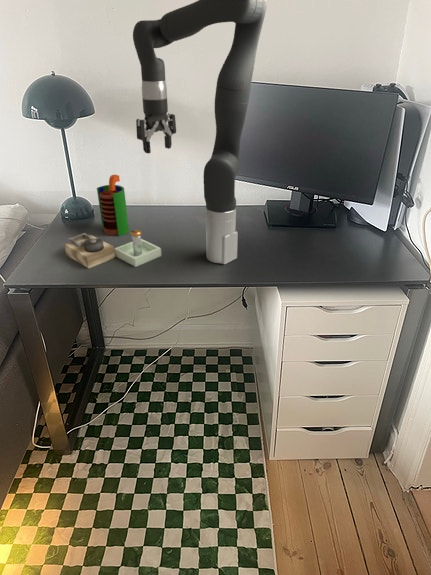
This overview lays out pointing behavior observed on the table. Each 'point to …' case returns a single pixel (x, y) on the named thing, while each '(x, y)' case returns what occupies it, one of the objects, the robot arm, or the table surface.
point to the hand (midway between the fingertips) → (158, 150)
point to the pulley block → (89, 250)
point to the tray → (128, 256)
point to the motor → (113, 208)
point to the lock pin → (136, 242)
